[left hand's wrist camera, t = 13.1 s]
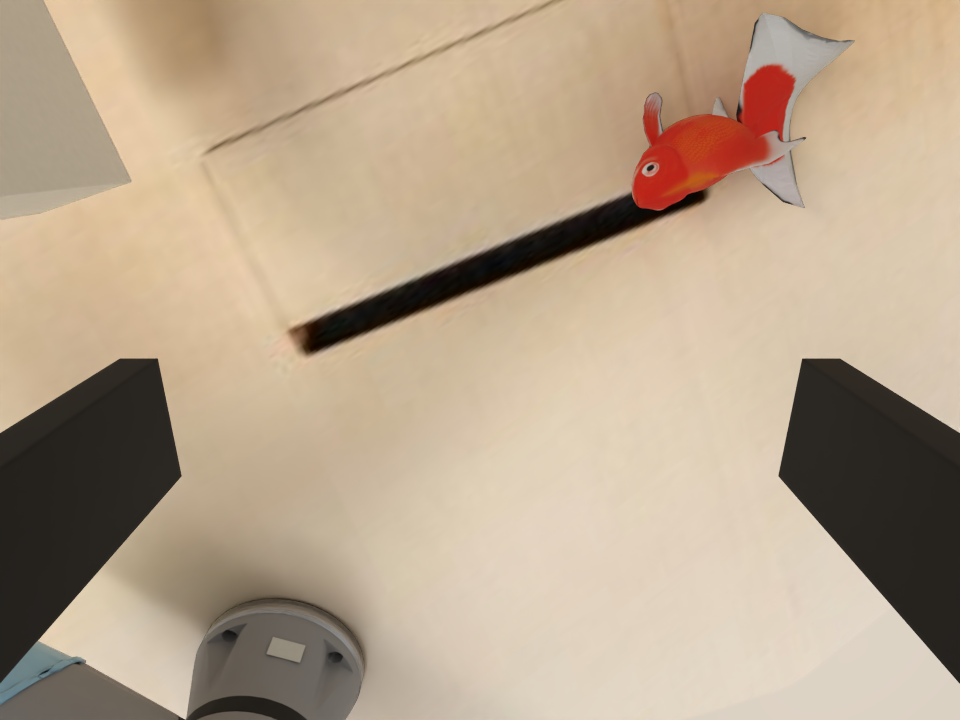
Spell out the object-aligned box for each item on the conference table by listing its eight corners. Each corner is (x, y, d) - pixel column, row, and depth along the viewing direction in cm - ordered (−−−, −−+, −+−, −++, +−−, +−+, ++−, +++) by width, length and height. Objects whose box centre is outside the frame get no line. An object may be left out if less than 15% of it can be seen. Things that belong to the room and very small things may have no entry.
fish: (582, 41, 34) (717, 67, 27) (777, -17, 39) (935, -8, 32) (587, 214, 41) (696, 272, 34) (752, 146, 46) (878, 184, 39)
